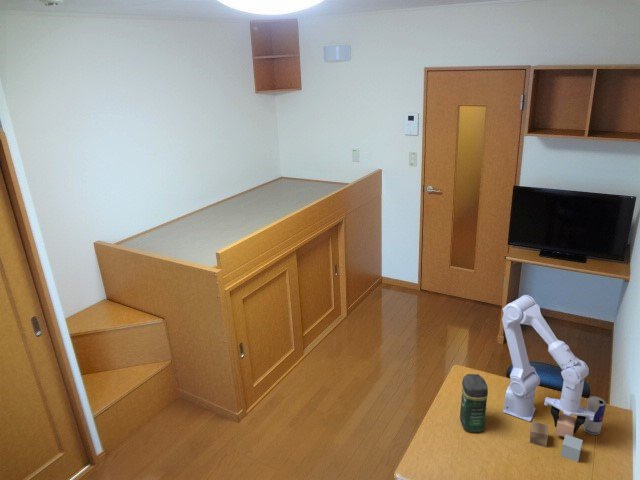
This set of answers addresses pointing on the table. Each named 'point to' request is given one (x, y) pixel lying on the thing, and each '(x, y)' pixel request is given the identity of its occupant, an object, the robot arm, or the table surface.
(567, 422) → the terracotta block
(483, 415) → the coffee jar
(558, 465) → the table surface
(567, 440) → the slate block
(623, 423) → the table surface
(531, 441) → the walnut block
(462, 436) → the table surface
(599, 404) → the energy drink
